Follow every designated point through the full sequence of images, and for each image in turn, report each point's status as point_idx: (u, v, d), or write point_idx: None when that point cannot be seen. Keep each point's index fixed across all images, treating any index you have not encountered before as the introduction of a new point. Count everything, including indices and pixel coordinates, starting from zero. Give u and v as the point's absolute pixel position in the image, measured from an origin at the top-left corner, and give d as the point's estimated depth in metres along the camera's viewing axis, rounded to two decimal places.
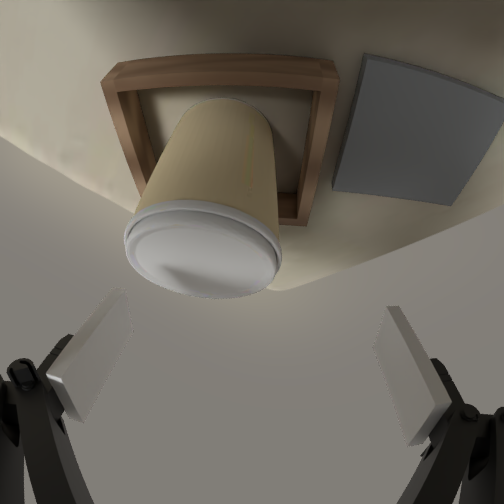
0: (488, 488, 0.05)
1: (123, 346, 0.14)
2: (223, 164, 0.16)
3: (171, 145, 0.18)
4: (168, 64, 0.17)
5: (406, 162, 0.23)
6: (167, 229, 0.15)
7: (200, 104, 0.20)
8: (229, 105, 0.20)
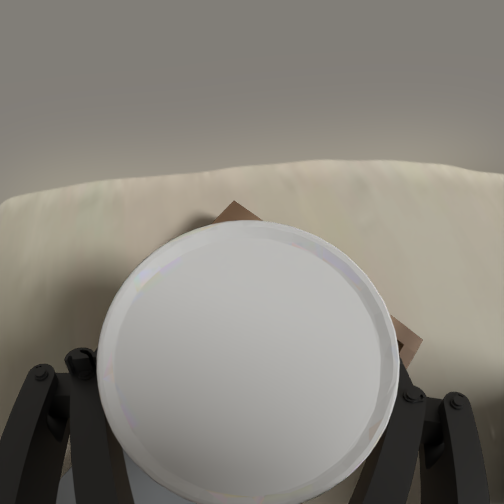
0: (448, 478, 0.06)
1: None
2: None
3: None
4: None
5: None
6: (374, 414, 0.07)
7: None
8: None
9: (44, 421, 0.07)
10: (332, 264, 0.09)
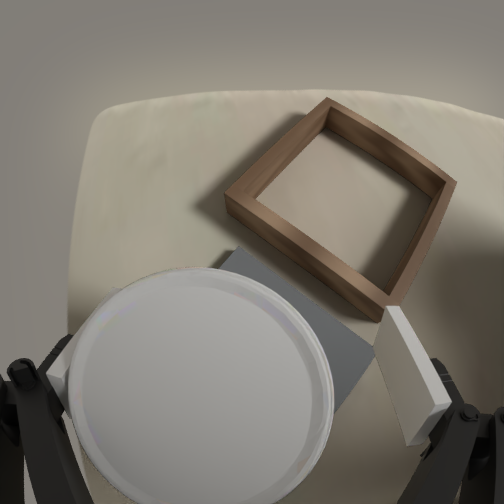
0: (488, 488, 0.05)
1: None
2: None
3: None
4: None
5: None
6: (303, 451, 0.08)
7: None
8: None
9: None
10: (271, 314, 0.10)
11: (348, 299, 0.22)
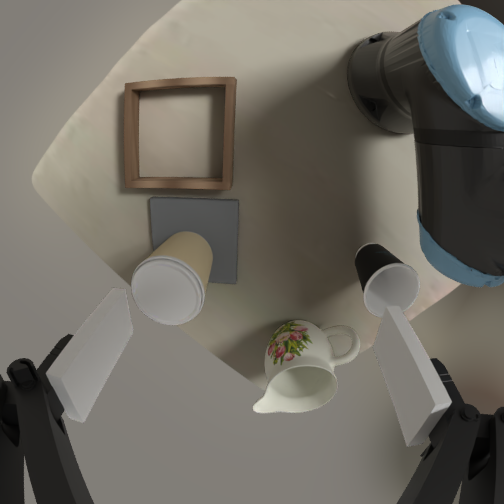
0: (488, 488, 0.05)
1: (123, 346, 0.14)
2: None
3: (202, 255, 0.41)
4: (233, 110, 0.37)
5: None
6: (195, 290, 0.35)
7: (210, 249, 0.45)
8: None
9: None
10: (163, 265, 0.34)
11: None
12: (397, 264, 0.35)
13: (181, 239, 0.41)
